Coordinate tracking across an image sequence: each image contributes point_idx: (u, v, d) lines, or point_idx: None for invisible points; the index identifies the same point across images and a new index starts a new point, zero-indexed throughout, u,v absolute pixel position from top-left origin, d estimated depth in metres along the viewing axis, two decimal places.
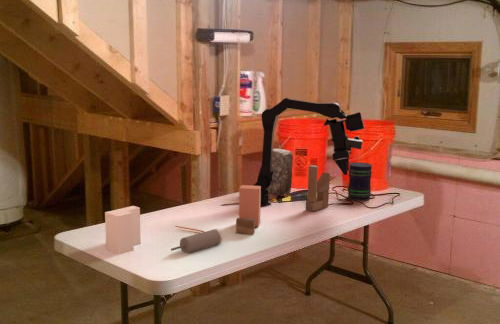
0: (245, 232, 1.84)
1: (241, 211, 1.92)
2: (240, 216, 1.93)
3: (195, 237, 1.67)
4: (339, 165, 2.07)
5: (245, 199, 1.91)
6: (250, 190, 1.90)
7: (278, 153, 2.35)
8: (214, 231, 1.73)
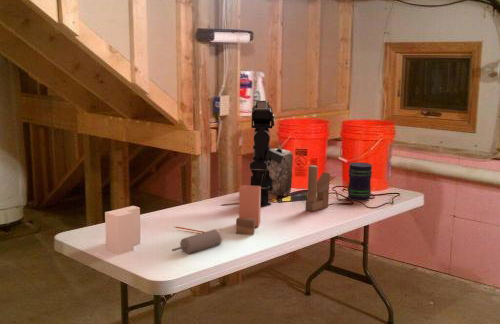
0: (245, 232, 1.84)
1: (241, 211, 1.92)
2: (240, 216, 1.93)
3: (195, 238, 1.66)
4: (254, 175, 1.96)
5: (245, 199, 1.91)
6: (250, 190, 1.90)
7: None
8: (214, 231, 1.72)
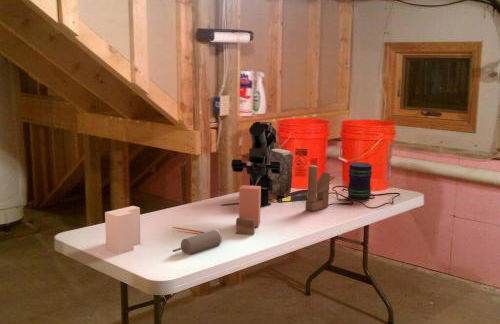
0: (245, 232, 1.84)
1: (241, 211, 1.92)
2: (240, 216, 1.93)
3: (196, 238, 1.66)
4: None
5: (245, 199, 1.91)
6: (250, 190, 1.90)
7: (278, 153, 2.35)
8: (214, 232, 1.72)
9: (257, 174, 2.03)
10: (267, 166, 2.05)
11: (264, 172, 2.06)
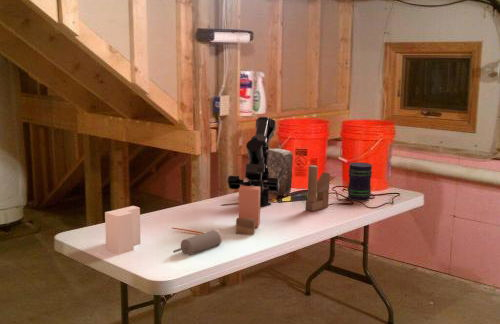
0: (245, 232, 1.84)
1: (240, 211, 1.91)
2: (240, 217, 1.92)
3: (196, 239, 1.65)
4: None
5: (245, 199, 1.90)
6: (250, 191, 1.89)
7: (278, 153, 2.35)
8: (214, 232, 1.72)
9: None
10: (264, 183, 1.99)
11: (261, 190, 2.00)
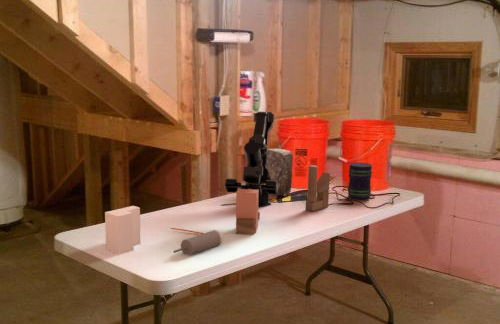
0: (245, 232, 1.84)
1: (238, 215, 1.86)
2: None
3: (196, 239, 1.65)
4: None
5: (242, 203, 1.85)
6: (247, 194, 1.84)
7: (278, 153, 2.35)
8: (214, 232, 1.72)
9: None
10: (262, 186, 1.94)
11: (259, 193, 1.95)
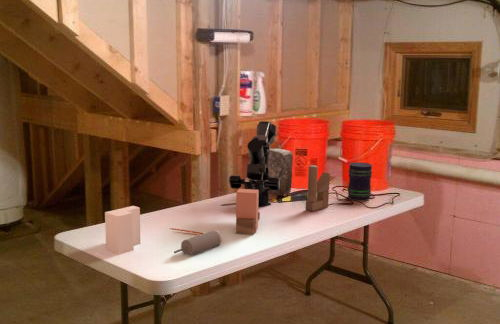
0: (245, 232, 1.84)
1: (238, 215, 1.86)
2: None
3: (196, 239, 1.65)
4: None
5: (242, 203, 1.85)
6: (247, 194, 1.84)
7: (278, 153, 2.35)
8: (214, 232, 1.71)
9: None
10: (265, 182, 2.02)
11: (262, 189, 2.03)
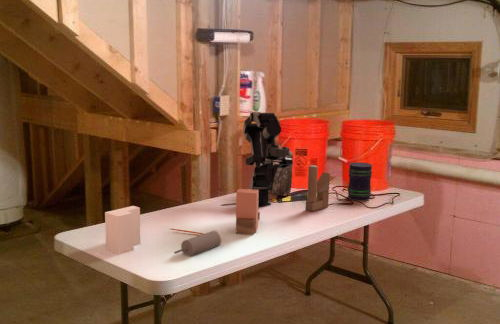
0: (245, 232, 1.84)
1: (238, 215, 1.86)
2: None
3: (197, 239, 1.65)
4: (264, 172, 2.06)
5: (242, 203, 1.85)
6: (247, 194, 1.84)
7: None
8: (214, 232, 1.71)
9: (274, 172, 2.05)
10: (279, 162, 2.08)
11: None
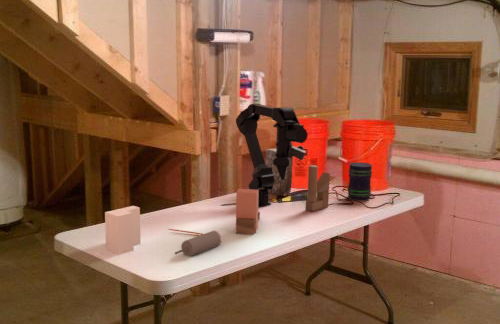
0: (245, 232, 1.84)
1: (238, 215, 1.86)
2: None
3: (197, 240, 1.64)
4: (278, 169, 2.08)
5: (242, 203, 1.85)
6: (247, 194, 1.84)
7: None
8: (214, 233, 1.71)
9: (286, 168, 2.11)
10: None
11: None
